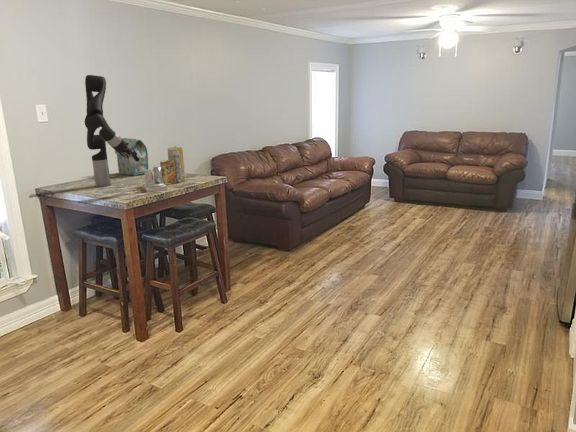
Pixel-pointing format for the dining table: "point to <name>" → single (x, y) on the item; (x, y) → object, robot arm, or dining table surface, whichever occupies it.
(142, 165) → the lunch bag
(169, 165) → the candy box
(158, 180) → the spacer
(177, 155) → the juice carton
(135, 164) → the spacer
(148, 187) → the grey l-shaped block
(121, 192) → the dining table surface
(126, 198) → the dining table surface
